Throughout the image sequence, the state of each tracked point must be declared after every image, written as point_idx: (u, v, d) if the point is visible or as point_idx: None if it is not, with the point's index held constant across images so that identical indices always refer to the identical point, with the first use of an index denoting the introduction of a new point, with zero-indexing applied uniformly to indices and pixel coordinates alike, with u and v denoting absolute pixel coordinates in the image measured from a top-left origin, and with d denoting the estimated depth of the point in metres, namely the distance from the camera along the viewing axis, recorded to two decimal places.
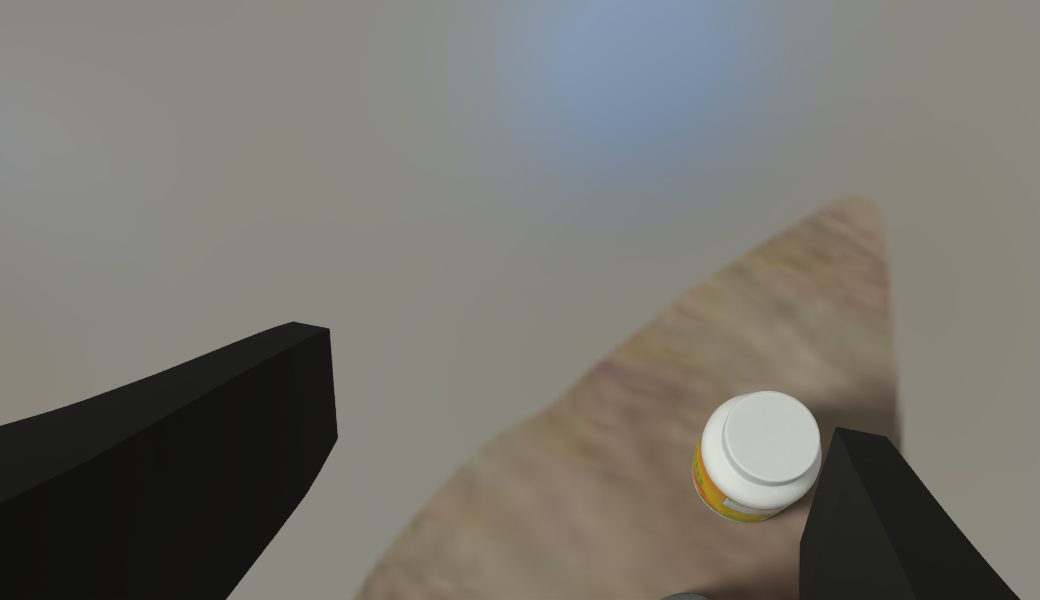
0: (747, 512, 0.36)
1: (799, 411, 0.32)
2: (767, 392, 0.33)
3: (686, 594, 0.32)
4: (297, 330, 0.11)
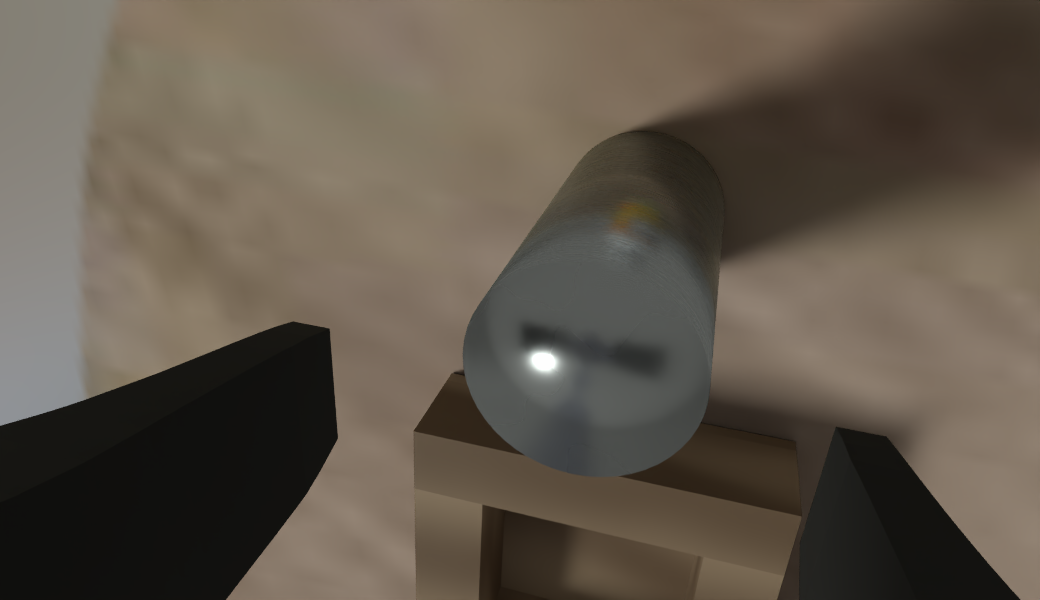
0: None
1: None
2: None
3: (565, 265, 0.11)
4: (297, 330, 0.11)
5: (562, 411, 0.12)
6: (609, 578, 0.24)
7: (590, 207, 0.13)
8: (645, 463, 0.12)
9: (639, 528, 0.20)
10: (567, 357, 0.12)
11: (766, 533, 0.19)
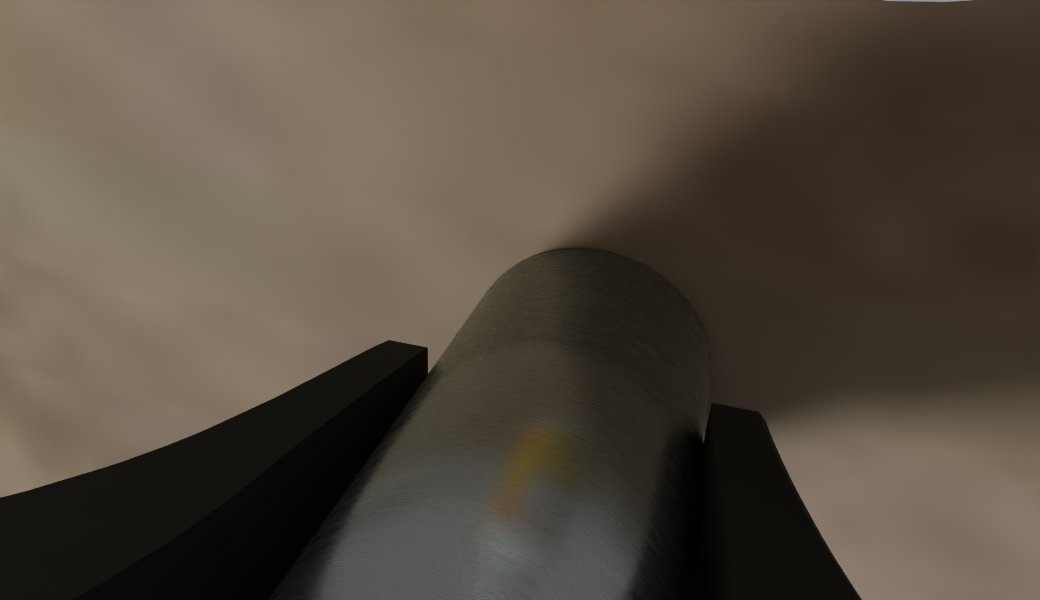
0: None
1: None
2: None
3: None
4: (397, 350, 0.10)
5: None
6: None
7: (435, 479, 0.07)
8: None
9: None
10: None
11: None
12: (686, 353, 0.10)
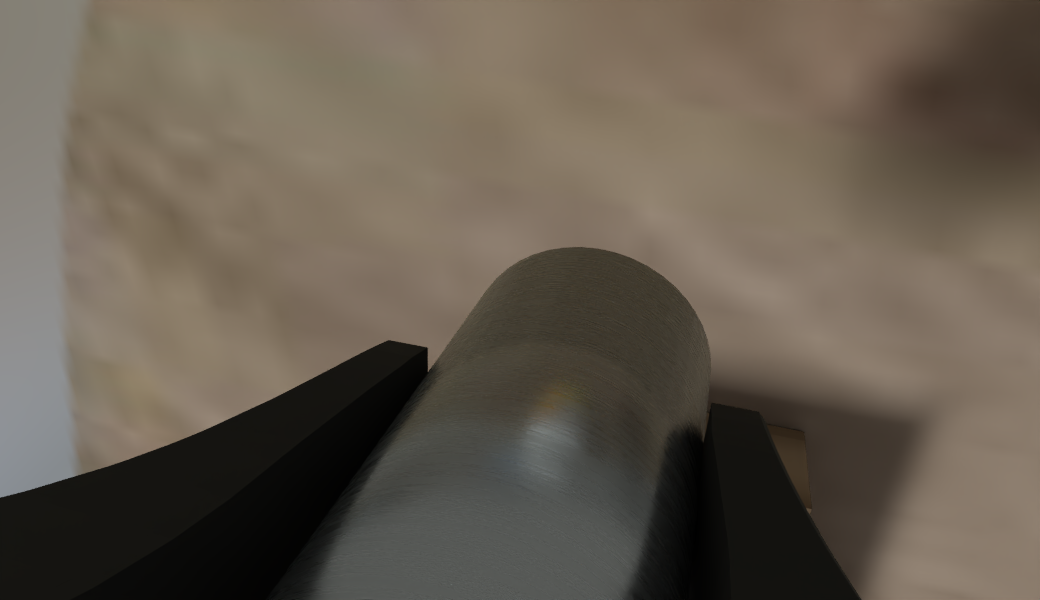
0: None
1: None
2: None
3: None
4: (397, 350, 0.10)
5: None
6: None
7: (435, 478, 0.07)
8: None
9: None
10: None
11: None
12: (686, 352, 0.10)
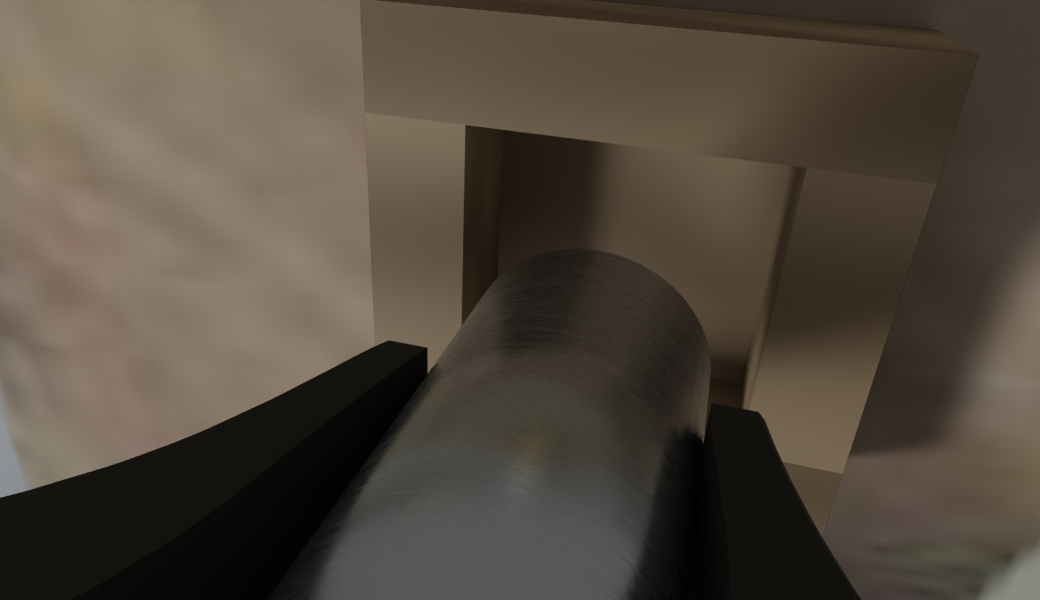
0: None
1: None
2: None
3: None
4: (397, 350, 0.10)
5: None
6: None
7: (433, 480, 0.07)
8: None
9: (707, 127, 0.13)
10: None
11: (914, 101, 0.12)
12: (685, 354, 0.10)
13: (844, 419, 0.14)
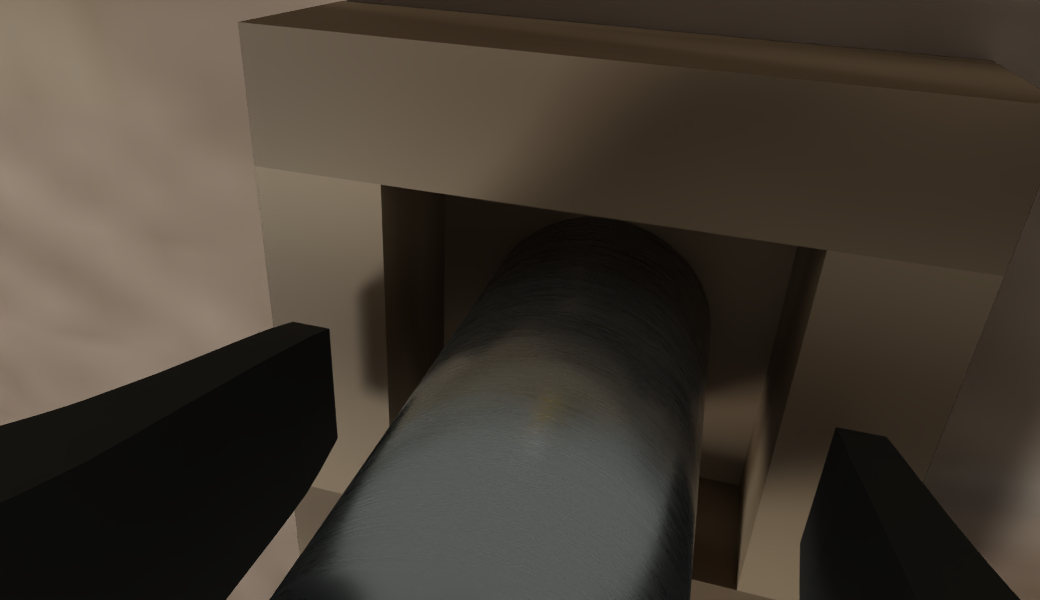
0: None
1: None
2: None
3: (396, 577, 0.06)
4: (297, 330, 0.11)
5: None
6: None
7: (482, 395, 0.08)
8: None
9: (693, 195, 0.09)
10: None
11: (976, 167, 0.08)
12: (689, 307, 0.12)
13: None
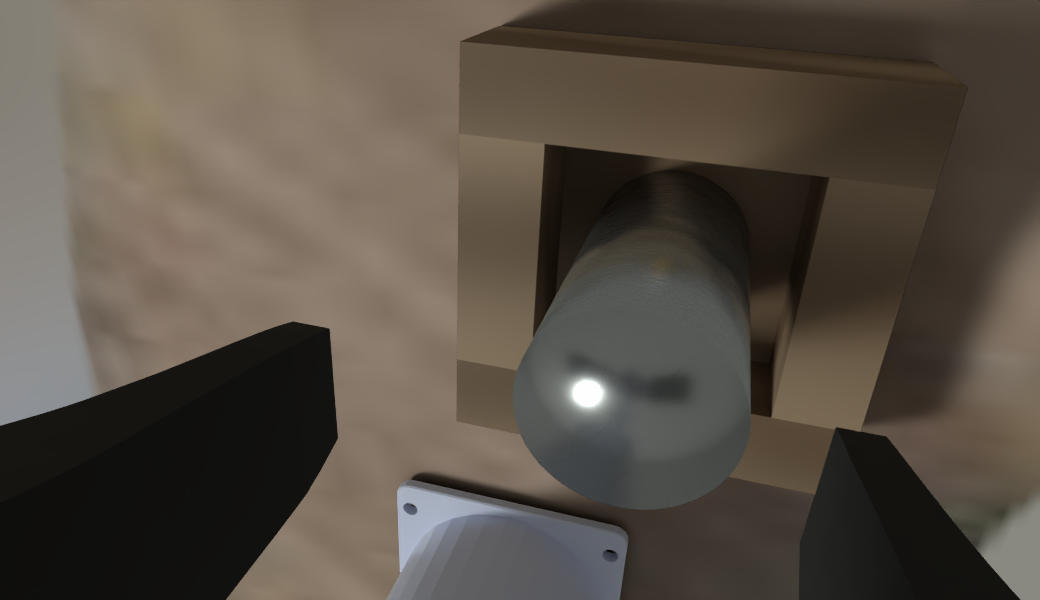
0: None
1: None
2: None
3: (612, 312, 0.12)
4: (297, 330, 0.11)
5: (607, 447, 0.13)
6: None
7: (629, 251, 0.14)
8: (687, 496, 0.13)
9: (747, 145, 0.15)
10: (613, 397, 0.13)
11: (917, 123, 0.14)
12: (738, 224, 0.18)
13: (861, 387, 0.17)
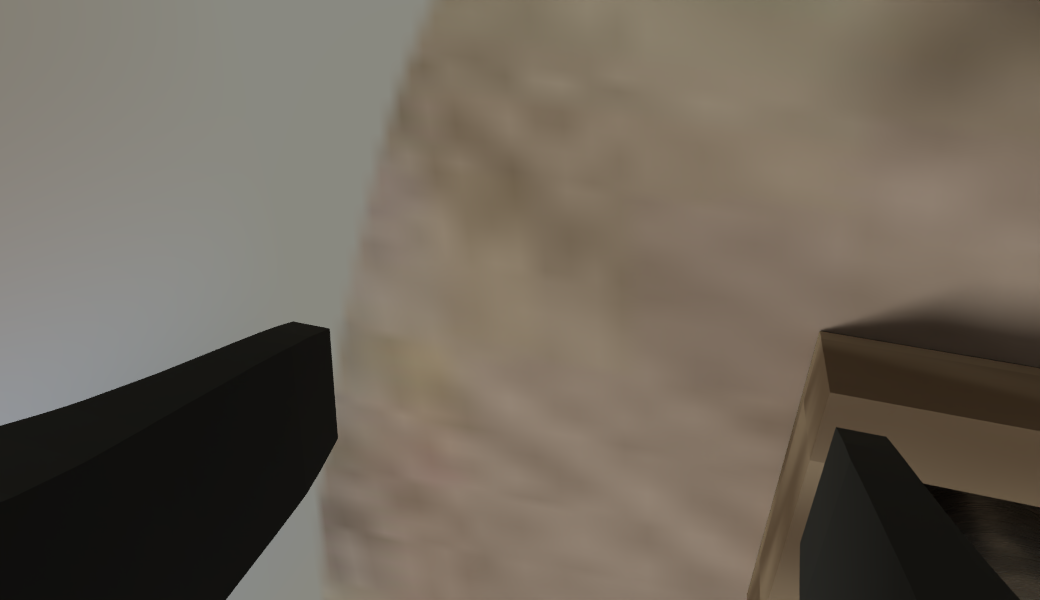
0: None
1: None
2: None
3: None
4: (297, 330, 0.11)
5: None
6: None
7: None
8: None
9: None
10: None
11: None
12: None
13: None
